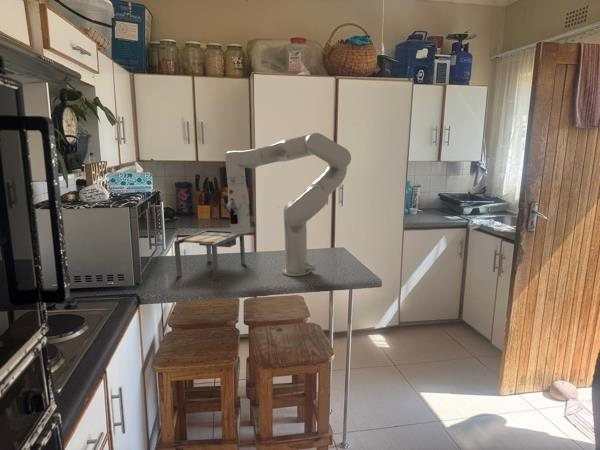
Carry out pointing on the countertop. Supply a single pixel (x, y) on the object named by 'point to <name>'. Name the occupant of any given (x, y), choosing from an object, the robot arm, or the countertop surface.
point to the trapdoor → (211, 239)
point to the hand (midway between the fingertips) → (239, 221)
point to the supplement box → (241, 220)
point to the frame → (214, 251)
